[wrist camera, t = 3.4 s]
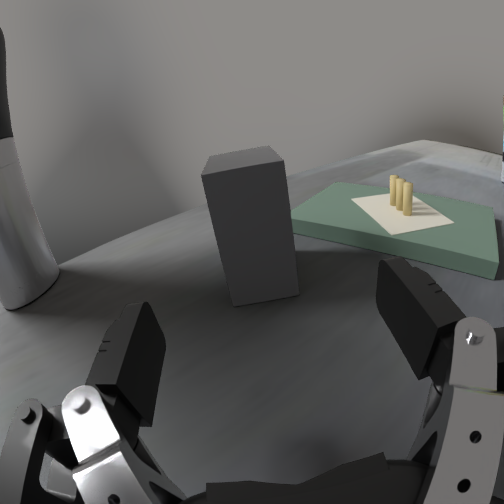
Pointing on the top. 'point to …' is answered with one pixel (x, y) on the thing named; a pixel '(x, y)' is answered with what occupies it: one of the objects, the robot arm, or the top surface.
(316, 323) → the top surface
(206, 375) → the top surface
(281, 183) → the dark grey rectangular block
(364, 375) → the top surface
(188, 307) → the top surface
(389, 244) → the board
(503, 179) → the tea box
